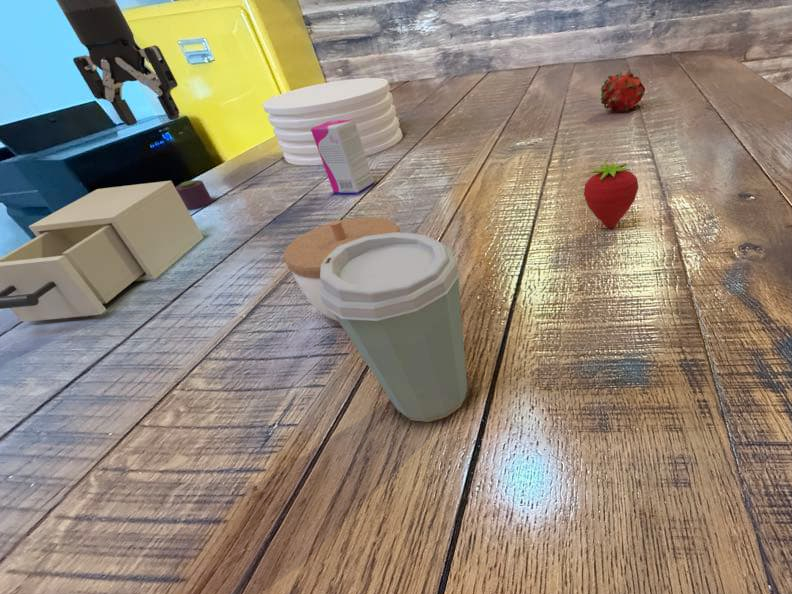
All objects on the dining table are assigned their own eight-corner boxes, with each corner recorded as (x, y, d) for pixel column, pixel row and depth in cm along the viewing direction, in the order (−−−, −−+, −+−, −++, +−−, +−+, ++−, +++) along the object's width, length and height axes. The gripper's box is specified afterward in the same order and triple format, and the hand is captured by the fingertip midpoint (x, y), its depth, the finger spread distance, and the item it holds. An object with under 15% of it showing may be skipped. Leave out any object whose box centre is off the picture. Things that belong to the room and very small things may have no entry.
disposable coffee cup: (492, 362, 51) (460, 216, 41) (486, 439, 43) (445, 280, 33) (389, 373, 52) (333, 231, 42) (364, 450, 44) (289, 298, 34)
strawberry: (645, 229, 71) (647, 152, 64) (594, 241, 69) (591, 164, 63) (627, 215, 75) (628, 141, 68) (579, 226, 74) (575, 152, 67)
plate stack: (300, 175, 109) (276, 114, 101) (274, 150, 127) (252, 98, 119) (420, 141, 118) (406, 84, 111) (379, 123, 137) (365, 73, 129)
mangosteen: (181, 211, 99) (167, 188, 96) (194, 202, 103) (181, 179, 100) (205, 209, 98) (192, 185, 96) (217, 199, 102) (206, 176, 99)
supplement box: (376, 184, 98) (355, 118, 91) (358, 196, 94) (335, 127, 87) (351, 184, 100) (329, 119, 93) (333, 195, 96) (308, 128, 89)
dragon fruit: (596, 123, 119) (639, 120, 124) (614, 103, 112) (659, 101, 116) (588, 86, 119) (631, 85, 123) (606, 63, 111) (651, 62, 115)
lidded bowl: (311, 304, 65) (272, 219, 58) (407, 275, 68) (381, 191, 61) (322, 354, 56) (277, 261, 49) (432, 319, 59) (405, 226, 52)
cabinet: (155, 280, 76) (112, 217, 69) (77, 288, 77) (28, 226, 70) (204, 238, 87) (171, 180, 80) (135, 246, 88) (97, 189, 81)
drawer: (76, 334, 64) (28, 278, 58) (-7, 342, 65) (-62, 287, 59) (158, 266, 77) (125, 216, 72) (89, 273, 78) (51, 224, 73)
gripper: (146, -3, 82) (202, 111, 93) (64, 9, 83) (129, 121, 94) (117, 1, 76) (180, 122, 87) (29, 14, 77) (102, 132, 88)
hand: (153, 121), depth 91 cm, fingers open, 7 cm apart
